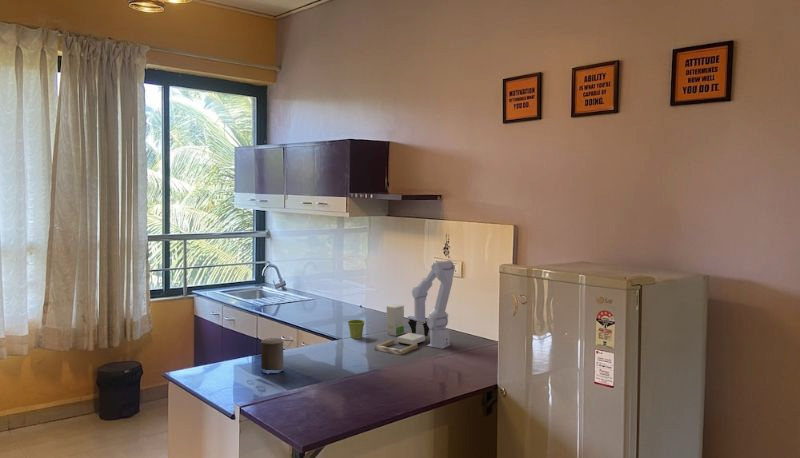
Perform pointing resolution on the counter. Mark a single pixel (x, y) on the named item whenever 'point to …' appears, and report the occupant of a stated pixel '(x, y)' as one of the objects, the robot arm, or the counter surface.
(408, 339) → the cream tile slab
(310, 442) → the counter surface
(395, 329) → the skincare box
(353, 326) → the plant pot
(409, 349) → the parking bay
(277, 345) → the pillar candle
